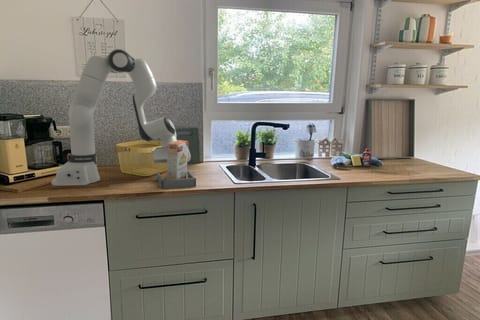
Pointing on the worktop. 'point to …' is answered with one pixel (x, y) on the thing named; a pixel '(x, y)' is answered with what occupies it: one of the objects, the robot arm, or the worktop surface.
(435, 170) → the worktop surface
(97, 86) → the robot arm
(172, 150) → the cracker box
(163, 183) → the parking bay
